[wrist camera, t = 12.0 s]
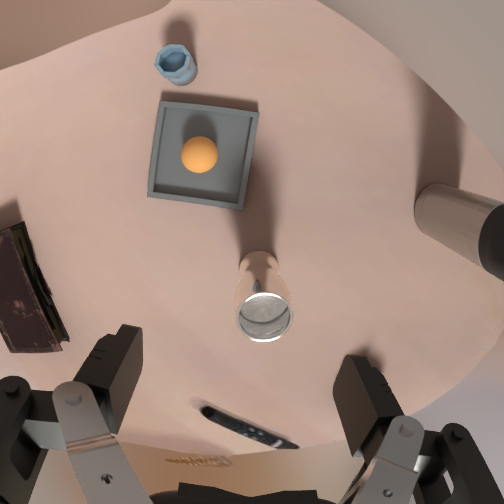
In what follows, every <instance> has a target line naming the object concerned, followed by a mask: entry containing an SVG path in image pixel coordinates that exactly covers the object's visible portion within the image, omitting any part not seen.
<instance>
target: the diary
mask: <svg viewBox="0 0 504 504" xmlns="http://www.w3.org/2000/svg"><path fill="white" fill-rule="evenodd" d="M38 267H39V265H38ZM38 267H37V264H36V262H35V259H34V256H33V251H32V247H31V242H30V239H29V235H28V232H27V228H26V225H25V221H24V222H21V223H19V224H16V225H14V226H12V227H9V228H7V229H5V230H2V231H0V333H1V335H2V337H3V339H4V341H5V343H6V345H7V347H8V349H9V351H10V353H48V352H59V351H63V350H62V348H61V346H60V343H61V341H68V342H70V340H69V336H68V334H67V332H66V329H65V327H64V325H63V323H62V321H61V318H60V316H59V314H58V312H57V309H56V307H55V305H54V303H53V301H52V298H51V296H50V294H49V291H48V289H47V287H46V284H45V281H44V278H43V276H42V273H41V270H40V268H39V270H38Z"/></svg>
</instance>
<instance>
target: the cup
mask: <svg viewBox="0 0 504 504" xmlns="http://www.w3.org/2000/svg"><path fill="white" fill-rule="evenodd" d="M155 67H156V68H157V70H158V71H159V72H160V73H161V75H162V76H164V77H165V78H167V79H168V80H170V81H171V82H172V83H173V84H175V85H178V86H184V85H188V84H190V83H191V82H192V81H193V80H194V79H195V78H196V76H197V72H198V69H197V66H196V64H195V62H194V61H193V58H192V56H191V54H190V53H189V52H188V51H187V49H186V48H185V47H184V46H183V45H175V44H169V45H167V46H166V47H164V48H163V49H162V50H160V51H159V52H158V53H157V56H156V60H155Z"/></svg>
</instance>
